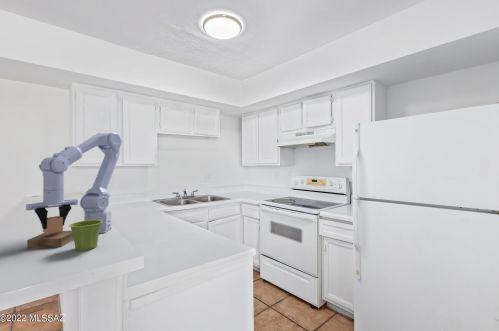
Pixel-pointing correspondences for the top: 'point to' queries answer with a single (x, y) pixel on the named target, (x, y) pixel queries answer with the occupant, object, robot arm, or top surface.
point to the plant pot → (86, 234)
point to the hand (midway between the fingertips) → (53, 227)
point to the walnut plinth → (50, 240)
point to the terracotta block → (54, 224)
